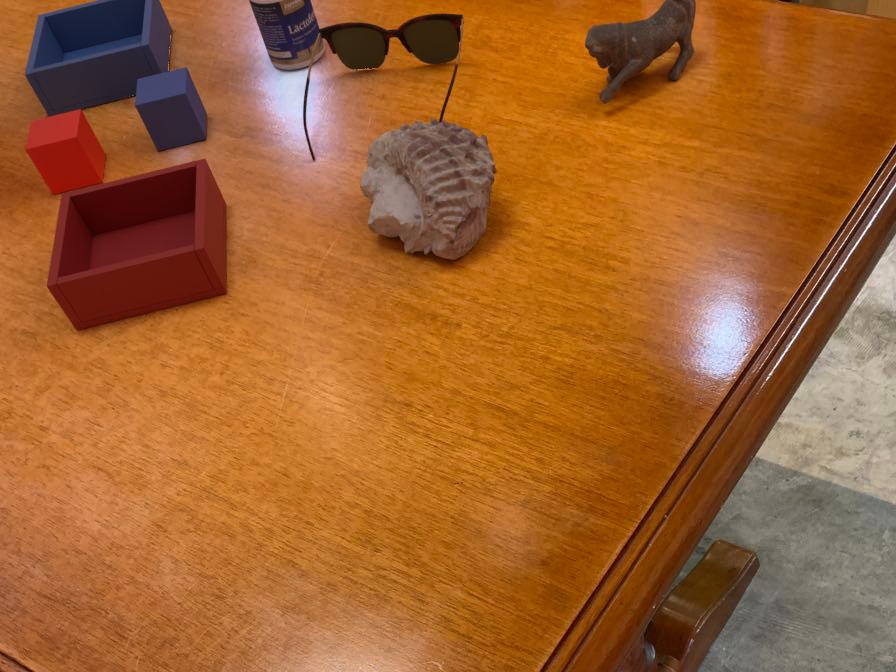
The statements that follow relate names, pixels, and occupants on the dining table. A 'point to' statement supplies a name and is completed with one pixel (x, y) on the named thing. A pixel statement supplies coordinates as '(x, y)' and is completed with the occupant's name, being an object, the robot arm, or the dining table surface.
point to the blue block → (171, 109)
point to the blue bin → (96, 52)
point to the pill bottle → (288, 31)
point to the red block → (66, 151)
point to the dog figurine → (642, 43)
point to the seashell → (430, 187)
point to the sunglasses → (370, 45)
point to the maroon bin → (139, 245)
